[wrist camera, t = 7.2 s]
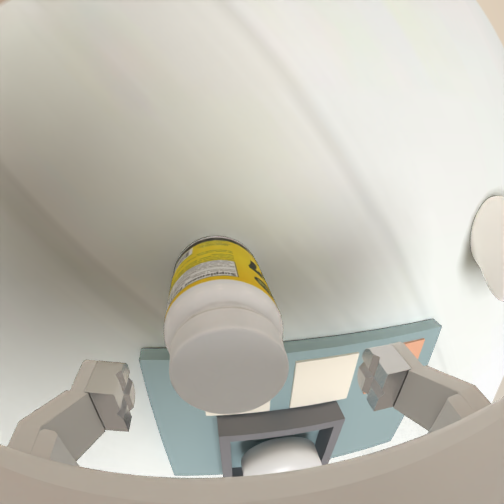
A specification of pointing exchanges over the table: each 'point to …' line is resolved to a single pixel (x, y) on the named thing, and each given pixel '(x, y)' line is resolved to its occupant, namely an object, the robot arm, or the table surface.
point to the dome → (280, 456)
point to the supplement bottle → (223, 329)
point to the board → (285, 404)
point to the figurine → (490, 243)
